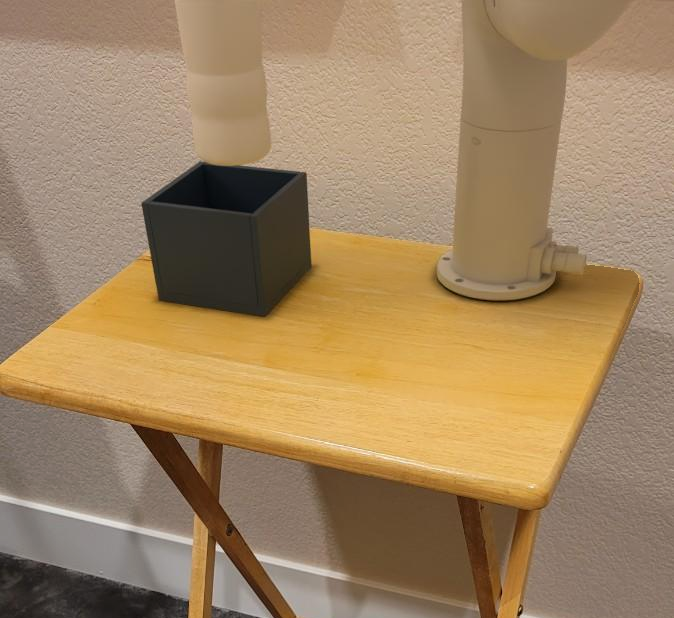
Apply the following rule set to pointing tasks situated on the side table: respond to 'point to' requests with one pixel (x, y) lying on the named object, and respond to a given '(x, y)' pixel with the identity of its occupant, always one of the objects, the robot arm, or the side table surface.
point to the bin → (229, 237)
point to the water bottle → (225, 79)
